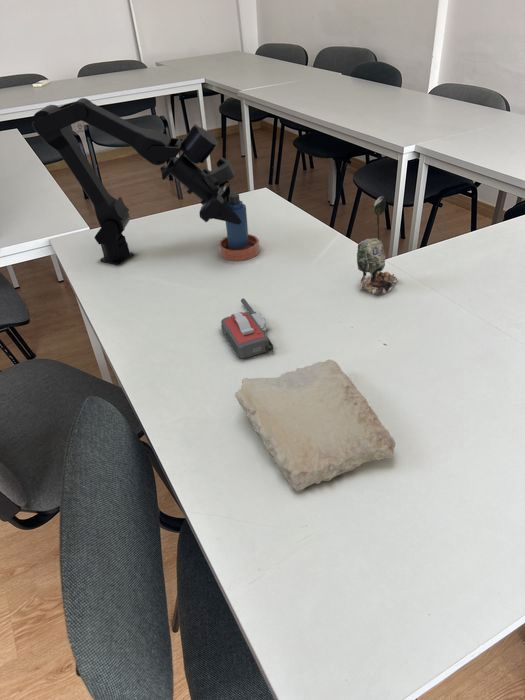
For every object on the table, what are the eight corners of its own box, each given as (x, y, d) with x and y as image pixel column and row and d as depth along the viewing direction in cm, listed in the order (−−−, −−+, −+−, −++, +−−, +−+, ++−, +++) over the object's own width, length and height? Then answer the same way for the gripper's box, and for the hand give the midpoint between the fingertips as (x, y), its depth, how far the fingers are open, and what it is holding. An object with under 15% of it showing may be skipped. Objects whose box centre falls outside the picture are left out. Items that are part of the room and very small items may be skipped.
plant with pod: (344, 287, 120) (346, 203, 108) (382, 272, 125) (387, 189, 113) (367, 302, 115) (372, 214, 103) (406, 285, 119) (415, 200, 107)
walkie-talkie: (283, 351, 102) (247, 303, 118) (282, 332, 100) (245, 286, 115) (241, 364, 100) (210, 313, 115) (239, 345, 98) (207, 296, 113)
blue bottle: (224, 246, 136) (218, 197, 128) (234, 238, 139) (230, 190, 132) (242, 249, 134) (237, 200, 126) (252, 241, 137) (248, 192, 130)
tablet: (273, 505, 75) (401, 459, 77) (264, 470, 70) (400, 423, 73) (233, 401, 94) (337, 367, 97) (224, 369, 90) (333, 334, 92)
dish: (218, 263, 134) (216, 252, 132) (222, 245, 143) (221, 234, 141) (258, 261, 134) (257, 250, 132) (260, 243, 142) (259, 232, 140)
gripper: (207, 164, 115) (260, 210, 121) (217, 140, 130) (264, 182, 136) (177, 200, 121) (230, 243, 126) (190, 173, 135) (237, 212, 141)
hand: (241, 218), depth 132 cm, fingers closed on blue bottle, 5 cm apart
